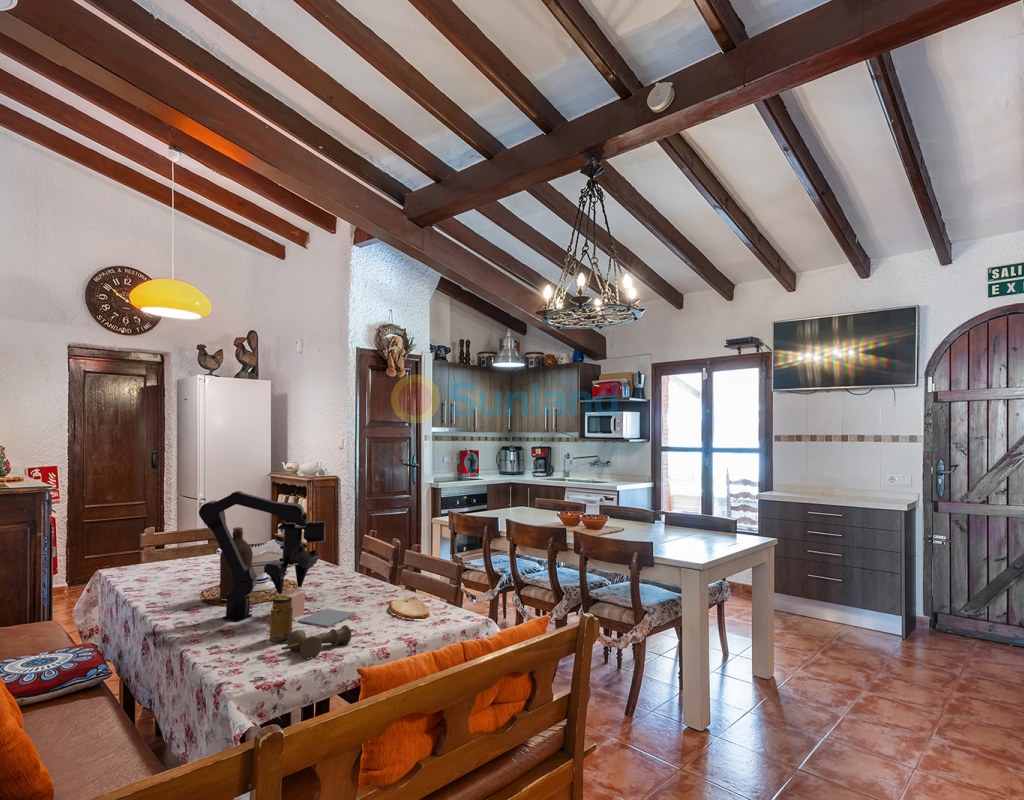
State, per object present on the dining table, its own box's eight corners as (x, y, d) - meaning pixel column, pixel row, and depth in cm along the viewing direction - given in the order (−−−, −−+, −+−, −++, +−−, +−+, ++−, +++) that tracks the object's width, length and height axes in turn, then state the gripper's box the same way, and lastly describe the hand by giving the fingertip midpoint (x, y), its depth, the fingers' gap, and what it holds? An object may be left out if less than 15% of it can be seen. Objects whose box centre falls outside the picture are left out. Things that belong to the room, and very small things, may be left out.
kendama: (356, 648, 166) (289, 665, 152) (338, 640, 173) (272, 655, 159) (357, 626, 167) (290, 641, 153) (340, 619, 174) (274, 633, 159)
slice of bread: (426, 623, 189) (427, 611, 189) (375, 618, 193) (375, 606, 193) (444, 607, 207) (444, 596, 207) (396, 603, 210) (397, 592, 211)
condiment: (272, 635, 173) (274, 594, 174) (301, 635, 174) (303, 594, 175) (264, 644, 166) (266, 601, 167) (295, 644, 167) (297, 601, 168)
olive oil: (256, 595, 214) (260, 526, 215) (239, 603, 204) (242, 531, 205) (229, 593, 216) (233, 525, 217) (211, 601, 205) (215, 529, 206)
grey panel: (328, 627, 181) (328, 625, 181) (297, 622, 186) (297, 620, 186) (355, 614, 195) (356, 613, 195) (326, 610, 199) (326, 608, 199)
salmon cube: (290, 619, 188) (291, 597, 188) (273, 617, 190) (275, 594, 190) (304, 614, 194) (305, 592, 194) (288, 611, 196) (289, 589, 197)
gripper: (292, 549, 182) (289, 600, 181) (330, 540, 199) (328, 586, 198) (264, 546, 186) (261, 596, 185) (304, 537, 203) (302, 582, 202)
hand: (290, 590), depth 192 cm, fingers open, 9 cm apart
